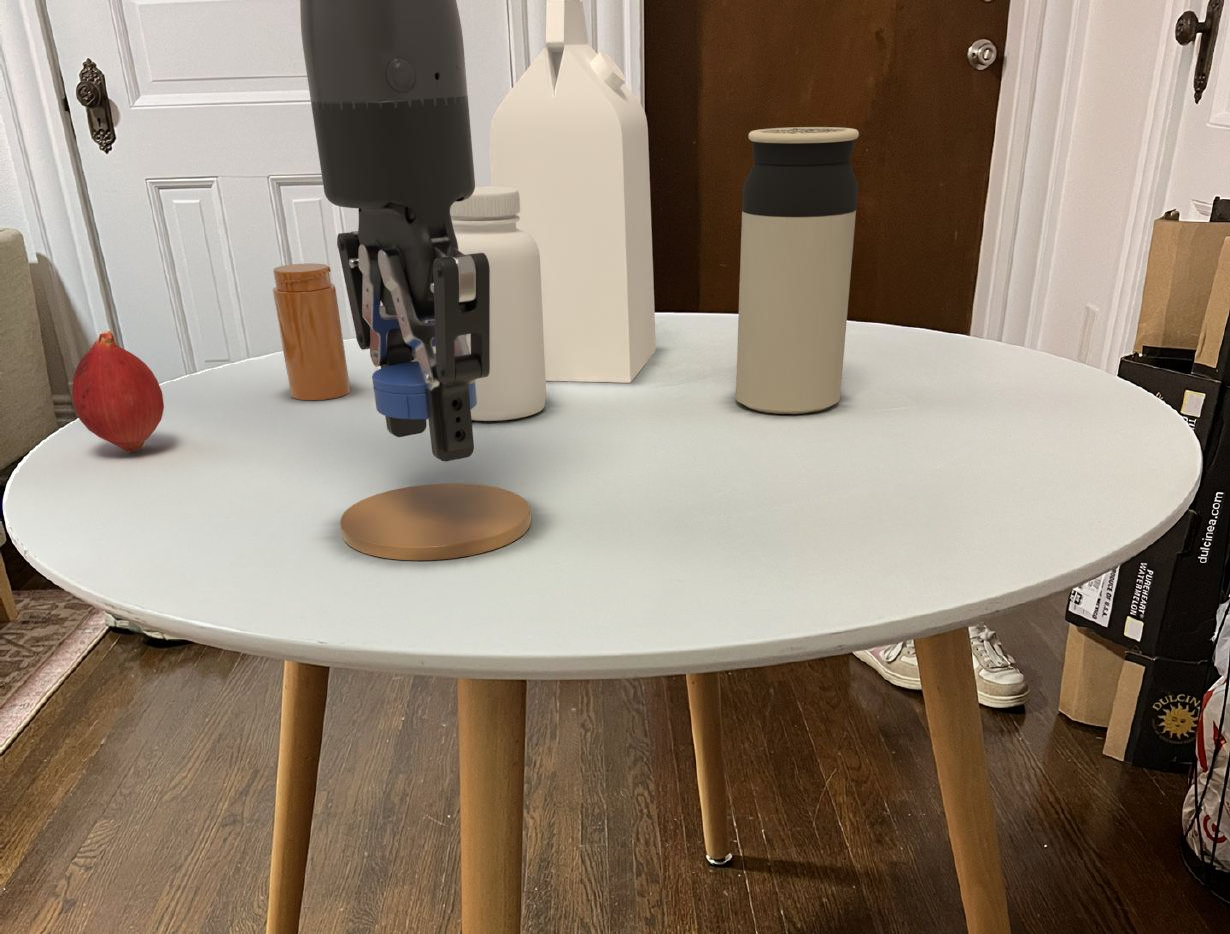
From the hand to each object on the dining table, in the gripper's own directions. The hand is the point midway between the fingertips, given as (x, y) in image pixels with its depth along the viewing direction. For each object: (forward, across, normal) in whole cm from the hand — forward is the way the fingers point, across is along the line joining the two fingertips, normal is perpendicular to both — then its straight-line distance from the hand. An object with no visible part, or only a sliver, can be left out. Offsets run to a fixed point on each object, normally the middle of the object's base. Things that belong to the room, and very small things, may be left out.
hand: (429, 444), depth 65 cm
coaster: (+5, 0, 0) cm, 5 cm away
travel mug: (+5, +9, -34) cm, 35 cm away
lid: (-3, 0, 0) cm, 3 cm away
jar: (+5, +35, -6) cm, 36 cm away
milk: (+5, +30, -28) cm, 41 cm away
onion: (+5, +27, +11) cm, 30 cm away
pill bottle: (+5, +21, -15) cm, 26 cm away
